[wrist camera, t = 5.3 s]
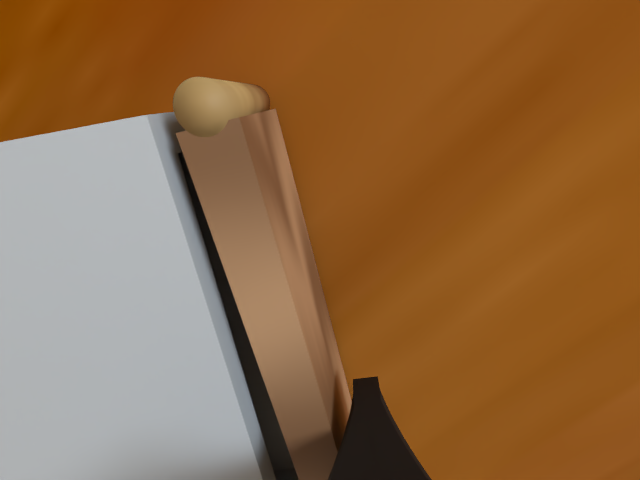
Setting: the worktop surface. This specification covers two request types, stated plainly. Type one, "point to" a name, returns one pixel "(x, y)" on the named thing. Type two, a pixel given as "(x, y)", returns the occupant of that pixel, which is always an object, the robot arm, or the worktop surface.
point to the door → (267, 261)
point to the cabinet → (121, 318)
